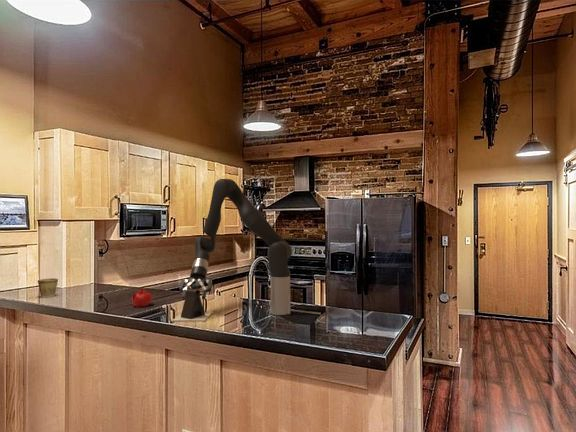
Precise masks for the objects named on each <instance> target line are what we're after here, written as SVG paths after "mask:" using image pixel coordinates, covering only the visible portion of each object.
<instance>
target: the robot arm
mask: <svg viewBox="0 0 576 432" xmlns="http://www.w3.org/2000/svg"><path fill="white" fill-rule="evenodd" d="M212 188H213V189H212V195H211V199H210V205H209V210H208V214H207V216H206V219H205V222H204V226H203V229H202V232H203V234H205V235H206V236H208V237H209V238H208V237H205V236H197V237H196V238H195V240H194V252H195V253H194V255H195V256H194V261H193V263H192V265H191V270H190V274H189V278H188V279H186V278H182V279H181V282H180V285H179V291H180V293H182V294H181V297H182V299H183V300H184V301H185V298H186V290H187V289H196V290H199V289H201V290H202V292H201V293H202V294H201V301H202V300H205V299H206V298H207V293H212V287H213V280H212V278H208V279H207V275H208V272H209V264H210V263H209V262H210V257H211V256H210V254H212V253H213V252H214V251H215V249H216V240H217V233H218V230H219V227H220V224H221V222H222V206H223V204H224V201H225V199H226V198H227V199H229V200H230V201H231V202H232V204H234V206H235V207H236V210H237V212H238V215H239V217H240V219H241V221H242V222H243V224H244V225H245V226H246V228H247V229H248V230H249V231H250V232H252V233H253V234H254V235H256V236H257V237H259V238H260V239H261V240H263V241H264V242H265V243H266V244H267V246H268V247H269V248H268V270H269V273H270V280H269V281H270V314H272V315H275V316H285V315H291V270H290V268H289V267H288V260H289V259H290V258H291V257H292V254H293V249H292V247H291V245H290V243H288V242H287V241H286V239H284V238H283V237H282V236H281V235H280V234H279V233H278V232H277V231H276V230H275V229H274V228H273V226H272V225H271V224H270V222H269V221H268V220H267V219H266V218H265V217H264V215H263V214H262V213H261V212H260V211H259V209H258V208H257V207H256V206H255V205H254V204H253V203H252V202H251V201H250V199H248V197H246V195H245V193H244V191H242V189H241V188H240V186H239V185H238V184H237V182H236V181H234V179H232V178H231V179H230V178H219V179H217V180H216V181H215V183H214V185H213V187H212ZM206 284H207V287H206V286H205V285H206Z"/></svg>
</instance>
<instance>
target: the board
mask: <svg viewBox="0 0 576 432" xmlns="http://www.w3.org/2000/svg"><path fill="white" fill-rule="evenodd" d="M204 312H205V311H204ZM212 313H213V312H212V311H211V312H210V311H209V312H208V311H207V312H205V315H203V316H200V317H196V318H193V319H187V318H182V317H181V313H180V314H178V315H177V316H176V317H175V318H173V319H172V322H183V323H184V322H187V323H188V322H206V321H207V320H208V319H209V317H211V315H213V314H212Z"/></svg>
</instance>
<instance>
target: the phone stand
mask: <svg viewBox="0 0 576 432" xmlns="http://www.w3.org/2000/svg"><path fill="white" fill-rule="evenodd" d="M180 314H181V317H182V318H187V319H193V318H196V317H200V316H203V315H205V309H204V305H203V303H202V297H201V290H199V289H197V288H196V289H193V288H192V289H187V290H186V298H185V300H184V302H183V306H182V310H181V312H180Z"/></svg>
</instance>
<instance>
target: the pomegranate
mask: <svg viewBox="0 0 576 432" xmlns="http://www.w3.org/2000/svg"><path fill="white" fill-rule="evenodd" d="M133 293H135V294H133V295H132V297H131V303H132V305H133V306H134V307H137V308H144V307H147V306H150V304H151V303H152V302H153V301H152V300H153V295H152V293H150V292H149V290H148V289H144V287H141V288H140V290H138V291H136V290H135V291H134V292H133Z"/></svg>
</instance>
